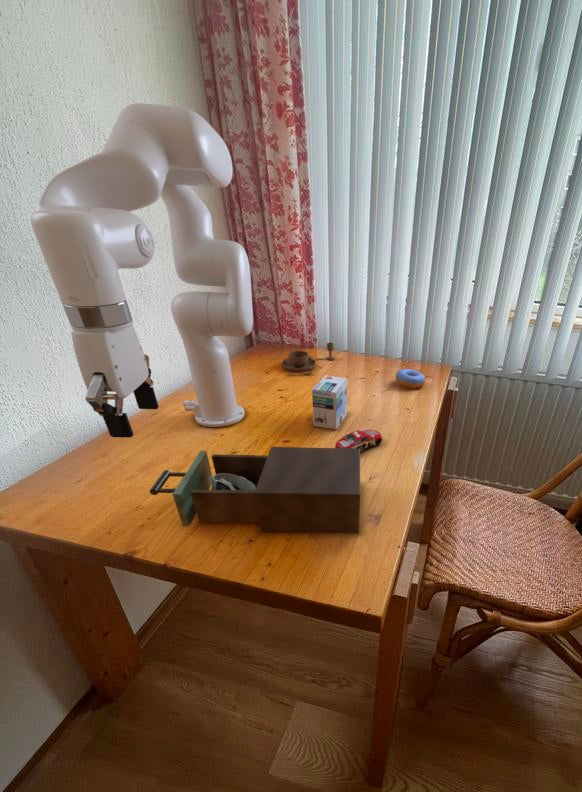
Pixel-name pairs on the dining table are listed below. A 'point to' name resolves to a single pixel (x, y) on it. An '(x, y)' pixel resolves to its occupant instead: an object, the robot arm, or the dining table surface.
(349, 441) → the race car
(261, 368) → the dining table surface
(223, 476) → the wristwatch
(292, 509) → the cabinet
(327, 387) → the light bulb box
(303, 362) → the place setting
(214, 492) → the drawer
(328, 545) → the dining table surface
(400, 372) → the doughnut
